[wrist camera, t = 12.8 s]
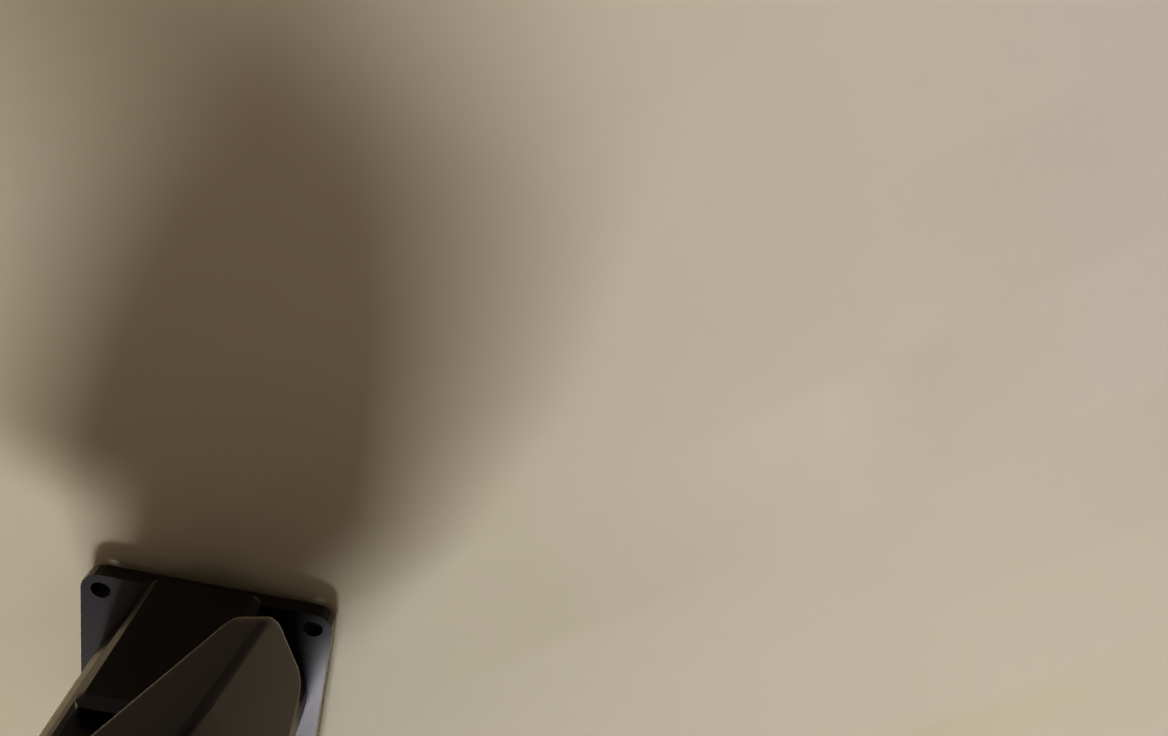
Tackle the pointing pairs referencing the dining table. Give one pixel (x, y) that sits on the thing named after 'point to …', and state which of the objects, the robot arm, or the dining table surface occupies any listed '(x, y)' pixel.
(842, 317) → the dining table surface
